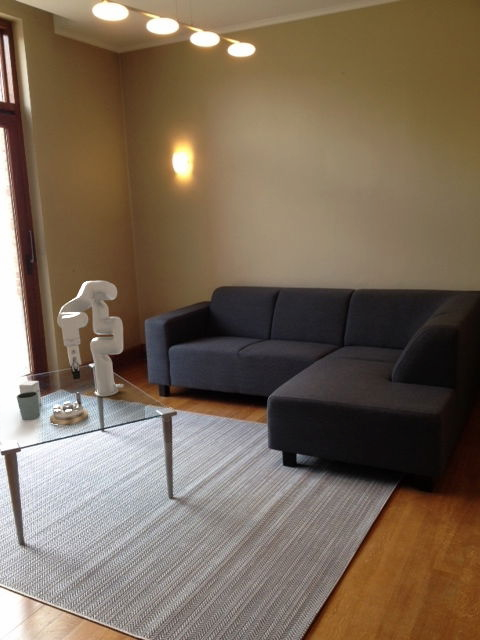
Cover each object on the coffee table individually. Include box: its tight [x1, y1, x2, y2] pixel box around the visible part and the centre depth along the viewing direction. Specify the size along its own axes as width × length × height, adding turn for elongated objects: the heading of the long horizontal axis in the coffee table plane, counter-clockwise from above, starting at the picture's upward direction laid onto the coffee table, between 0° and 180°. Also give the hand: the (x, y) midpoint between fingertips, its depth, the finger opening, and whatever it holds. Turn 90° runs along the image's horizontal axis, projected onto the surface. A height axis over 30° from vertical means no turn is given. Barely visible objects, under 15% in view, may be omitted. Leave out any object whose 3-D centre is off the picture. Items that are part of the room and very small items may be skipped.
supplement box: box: [18, 380, 42, 405], centre depth 306 cm, size 7×7×13 cm
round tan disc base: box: [49, 408, 89, 426], centre depth 285 cm, size 18×18×3 cm
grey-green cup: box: [16, 392, 41, 421], centre depth 289 cm, size 10×10×12 cm
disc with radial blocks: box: [52, 391, 84, 420], centre depth 283 cm, size 14×14×10 cm
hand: (76, 376), depth 277 cm, fingers open, 9 cm apart
